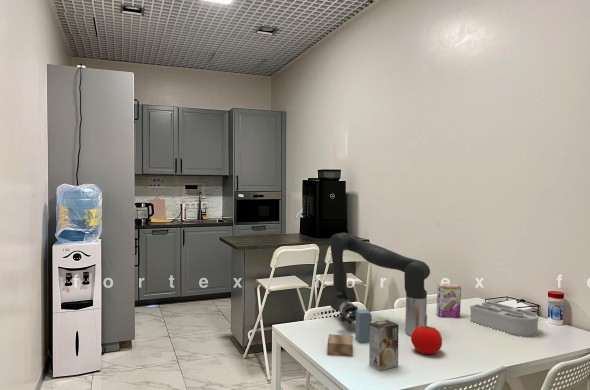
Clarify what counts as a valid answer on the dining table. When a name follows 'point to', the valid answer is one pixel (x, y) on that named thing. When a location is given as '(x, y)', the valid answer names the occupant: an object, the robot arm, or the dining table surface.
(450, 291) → the candy bar box
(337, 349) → the walnut block
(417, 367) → the dining table surface
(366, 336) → the slate block
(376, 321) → the olive block
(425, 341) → the tomato
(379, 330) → the coffee box
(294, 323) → the dining table surface
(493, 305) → the gray compartment organizer
